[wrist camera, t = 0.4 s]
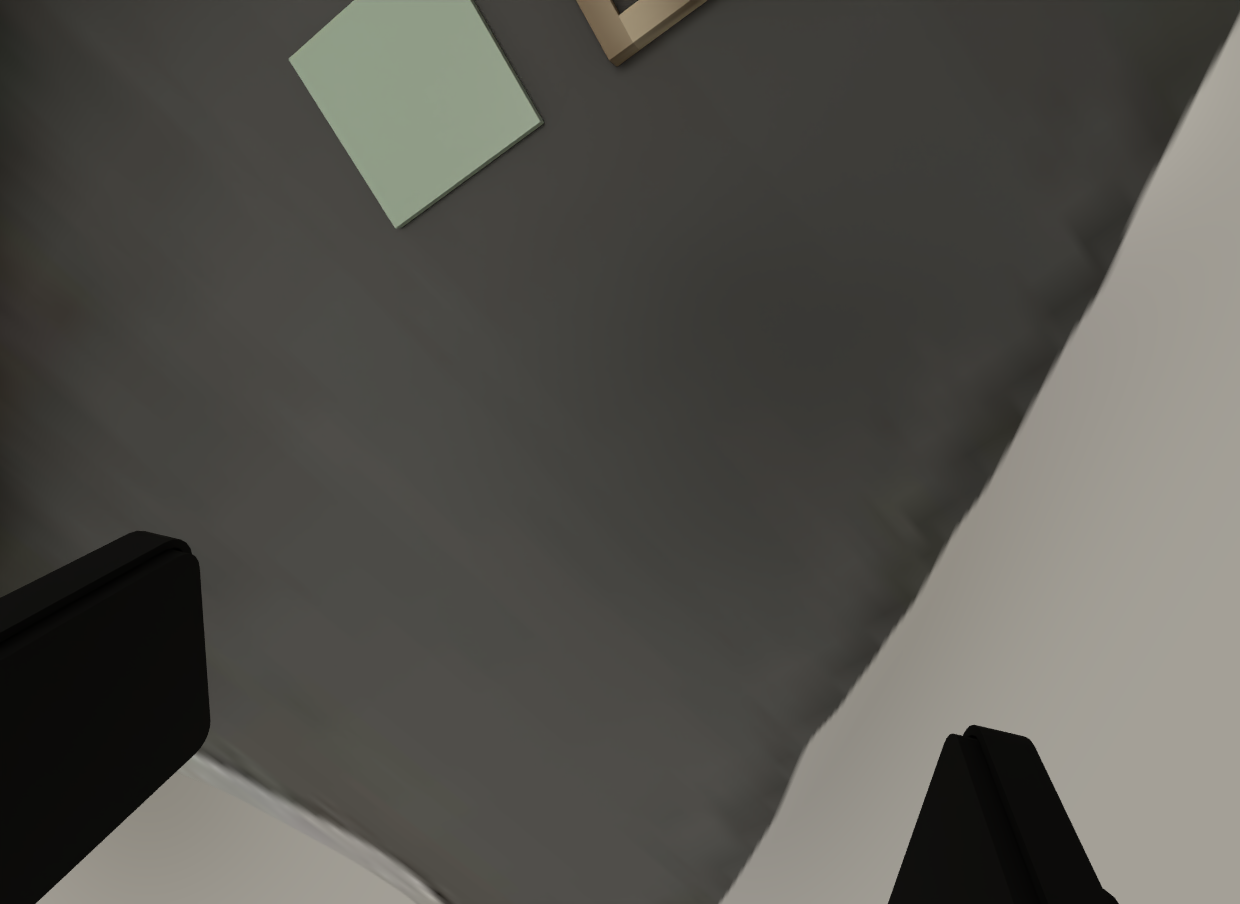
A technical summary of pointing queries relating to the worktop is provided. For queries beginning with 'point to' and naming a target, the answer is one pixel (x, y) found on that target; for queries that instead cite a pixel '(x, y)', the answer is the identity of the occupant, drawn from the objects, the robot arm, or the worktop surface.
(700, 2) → the frame
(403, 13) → the mat
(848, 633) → the worktop surface
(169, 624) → the robot arm
